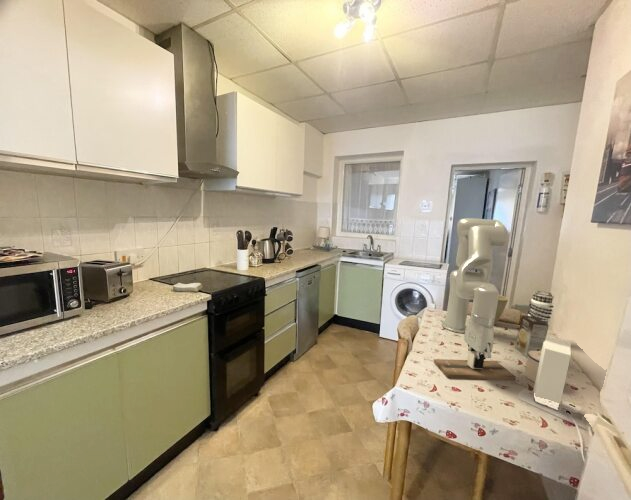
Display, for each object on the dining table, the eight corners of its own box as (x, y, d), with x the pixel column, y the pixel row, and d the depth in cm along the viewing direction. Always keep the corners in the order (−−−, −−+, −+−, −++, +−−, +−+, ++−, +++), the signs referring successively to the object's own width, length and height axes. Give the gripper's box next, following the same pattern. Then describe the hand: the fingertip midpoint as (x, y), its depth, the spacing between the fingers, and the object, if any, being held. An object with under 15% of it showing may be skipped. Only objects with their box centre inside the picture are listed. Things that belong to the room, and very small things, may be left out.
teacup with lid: (556, 391, 92) (563, 360, 90) (524, 379, 97) (529, 350, 96) (552, 375, 102) (558, 347, 100) (522, 366, 107) (528, 339, 105)
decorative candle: (536, 335, 137) (545, 289, 134) (551, 344, 128) (561, 295, 124) (518, 334, 137) (527, 288, 134) (532, 343, 128) (541, 294, 125)
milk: (532, 393, 90) (544, 332, 87) (556, 401, 87) (569, 338, 84) (534, 402, 85) (546, 338, 82) (559, 411, 82) (573, 345, 79)
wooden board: (433, 362, 105) (434, 358, 105) (495, 364, 107) (496, 360, 106) (447, 378, 95) (448, 374, 95) (515, 380, 97) (516, 376, 97)
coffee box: (514, 347, 123) (520, 314, 121) (529, 349, 122) (536, 316, 119) (525, 357, 114) (532, 322, 112) (542, 359, 113) (549, 324, 111)
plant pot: (509, 328, 145) (514, 300, 142) (483, 327, 144) (488, 299, 142) (491, 317, 159) (495, 292, 157) (467, 316, 159) (471, 291, 157)
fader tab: (467, 364, 102) (469, 350, 101) (476, 364, 102) (479, 351, 101) (472, 368, 99) (474, 355, 98) (482, 368, 99) (484, 355, 99)
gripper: (459, 310, 106) (453, 353, 108) (487, 328, 90) (479, 378, 92) (477, 311, 106) (470, 353, 109) (508, 329, 90) (499, 378, 93)
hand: (474, 364), depth 101 cm, fingers closed on fader tab, 3 cm apart
